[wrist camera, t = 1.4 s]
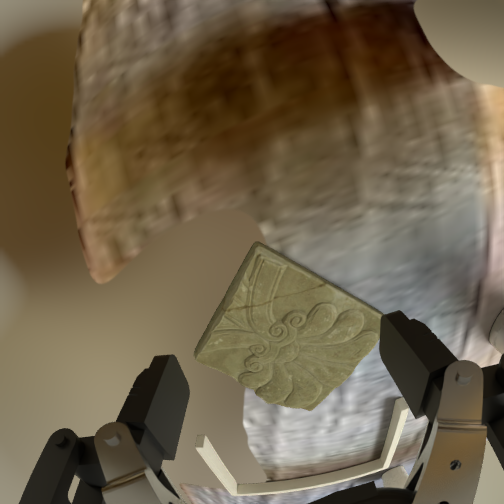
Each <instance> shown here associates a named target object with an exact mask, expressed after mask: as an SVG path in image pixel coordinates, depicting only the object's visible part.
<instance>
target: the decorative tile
mask: <svg viewBox="0 0 504 504" xmlns="http://www.w3.org/2000/svg"><path fill="white" fill-rule="evenodd" d="M382 315H385V314H383V313H382V312H380V311H378V310H377V309H375V308H373V307H372V306H370V305H368V304H367V303H365V302H363V301H362V300H360V299H358V298H356V297H355V296H353V295H351V294H349V293H348V292H346V291H344V290H342V289H341V288H339V287H337V286H336V285H334V284H332V283H330V282H329V281H327V280H325V279H323V278H322V277H320V276H318V275H316V274H315V273H313V272H311V271H309V270H308V269H306V268H304V267H303V266H301V265H299V264H297V263H296V262H294V261H292V260H290V259H289V258H287V257H285V256H283V255H282V254H280V253H278V252H276V251H275V250H273V249H271V248H269V247H267V246H266V245H264V244H262V243H260V242H255V243H254V244H253V245H252V247H251V248H250V250H249V252H248V254H247V255H246V257H245V259H244V261H243V263H242V265H241V266H240V268H239V270H238V272H237V274H236V276H235V277H234V279H233V281H232V283H231V285H230V286H229V288H228V290H227V292H226V294H225V296H224V298H223V300H222V302H221V303H220V305H219V306H218V308H217V309H216V311H215V313H214V315H213V317H212V318H211V321H210V323H209V324H208V326H207V328H206V330H205V332H204V333H203V335H202V337H201V339H200V340H199V342H198V344H197V346H196V348H195V352H194V357H195V360H196V361H197V362H199V363H202V364H204V365H206V366H209V367H211V368H214V369H216V370H219V371H221V372H223V373H225V374H227V375H229V376H231V377H233V378H234V379H235V380H236V381H237V382H239V383H240V384H241V385H242V386H244V387H247V388H250V389H253V390H254V392H255V394H256V395H257V396H259V397H260V398H262V399H263V400H264V401H265V402H266V403H268V404H272V403H275V404H278V405H281V406H285V407H290V408H302V409H305V410H308V411H312V410H313V409H314V408H315V407H316V406H317V405H318V404H319V403H321V402H322V401H323V400H324V399H325V398H326V397H327V396H328V395H329V394H330V393H331V392H332V391H333V390H334V389H335V388H337V387H338V386H340V385H341V384H342V383H343V382H344V381H345V380H346V379H347V378H348V377H349V376H350V375H351V374H352V373H353V371H354V369H355V367H356V366H357V365H358V363H359V362H360V361H361V360H362V359H363V358H364V357H365V356H366V355H368V353H369V352H370V351H371V350H372V349H373V348H374V346H375V345H376V343H377V342H378V340H379V338H380V320H381V316H382Z"/></svg>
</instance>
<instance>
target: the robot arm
mask: <svg viewBox="0 0 504 504" xmlns="http://www.w3.org/2000/svg"><path fill="white" fill-rule="evenodd" d="M489 341H490V343H491V345H492V346H493V347H494V348H496V349H497V350H498V351H499V352H500V353H501V354H502V356H501V359H500V362H499V364H496V365H492V366H488V367H483V368H480V367H479V366H478V365H477V364H476V363H474V362H472V361H468V360H460V361H459V360H458V359H457V358H456V357H455V356H454V355H453V354H452V353H451V352H450V350H449V349H448V348H447V347H446V346H445V345H444V344H443V343H442V342H441V341H440V340H439V339H437V336H436V335H435V334H434V333H432V331H431V330H430V329H429V328H428V327H427V326H426V325H425V324H424V323H422V322H420V321H418V320H416V319H411V320H409V319H408V318H407V317H406V315H405V314H404V313H403V312H402V311H400V310H398V311H395V312H392V313H389V314H385V315H382V316H381V320H380V344H379V350H380V356H381V359H382V361H383V363H384V365H385V366H386V368H387V370H388V371H389V373H390V375H391V376H392V378H393V380H394V382H395V383H396V385H397V387H398V388H399V390H400V392H401V394H402V395H403V397H404V399H405V401H406V403H407V404H408V406H409V408H410V410H411V412H412V413H413V415H414V417H415V419H417V418H420V417H422V416H424V415H426V416H427V418H428V422H427V425H426V429H425V433H424V436H423V439H422V443H421V446H420V449H419V452H418V455H417V458H416V461H415V464H414V466H413V468H412V471H411V473H410V475H409V477H408V479H407V481H406V483H405V486H404V488H403V489H402V488H393V487H382V488H376V486H375V483H374V481H372V482H369V483H366V484H362V485H359V486H356V487H352V488H349V489H345V490H341V491H337V492H334V493H332V494H330V495H328V496H325V497H323V498H321V499H318V500H316V501H313V502H311V503H308V504H473V501H474V498H475V494H476V490H477V486H478V482H479V478H480V473H481V468H482V463H483V458H484V451H485V445H486V437H487V439H488V441H489V442H490V444H491V446H492V447H493V450H494V452H495V454H496V456H497V457H498V460H499V461H500V463H501V466H502V468H503V470H504V309H503V310H502V312H501V313H500V314H499V316H498V317H497V319H496V321H495V323H494V325H493V327H492V329H491V332H490V338H489ZM189 395H190V390H189V385H188V382H187V380H186V378H185V376H184V373H183V371H182V369H181V367H180V365H179V363H178V360H177V358H176V357H175V355H161V356H155V357H154V358H153V360H152V362H151V364H150V367H149V368H148V369H145V370H144V371H143V372H141V374H139V375H138V377H137V378H136V380H135V382H134V384H133V388H131V390H130V392H129V395H128V396H127V399H126V401H125V403H124V405H123V407H122V409H121V411H120V413H119V416H118V418H117V420H116V422H111V423H108V424H105V425H104V426H102V427H101V428H100V429H99V430H98V431H97V432H96V434H95V436H90V437H82V438H79V437H78V436H77V435H76V434H75V433H74V432H73V431H72V430H70V429H68V428H67V429H66V428H63V429H59V430H58V431H56V432H54V433H53V434H52V435H51V436H50V438H49V440H48V442H47V444H46V446H45V448H44V449H43V452H42V454H41V455H40V458H39V460H38V462H37V464H36V466H35V468H34V470H33V473H32V474H31V477H30V479H29V481H28V483H27V485H26V488H25V490H24V492H23V495H22V497H21V500H20V502H19V504H71V503H70V501H69V500H68V491H69V488H70V485H71V483H72V480H73V477H74V475H76V476H77V477H78V478H80V482H79V485H78V487H77V490H76V493H75V496H74V499H73V502H72V504H187V503H186V502H185V501H184V499H183V498H182V496H181V495H180V493H179V492H178V490H177V489H176V487H175V486H174V485H173V483H172V481H171V480H170V478H169V477H168V475H167V474H166V472H165V470H164V469H163V467H162V466H161V465H162V461H163V460H174V459H175V454H176V450H177V446H178V442H179V437H180V433H181V429H182V424H183V420H184V416H185V412H186V408H187V404H188V400H189Z"/></svg>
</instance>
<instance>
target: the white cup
mask: <svg viewBox="0 0 504 504" xmlns="http://www.w3.org/2000/svg"><path fill="white" fill-rule="evenodd" d="M408 477H409V476H408V474H407V473H406V471H405V468H404V467H403V466H398V467H395V468H392V469H390V470H388V471H387V472H385V473H384V474H383V475H382V480H383V485H384V487H393V488H402V489H403V488H404V486H405V483H406V481H407V479H408Z"/></svg>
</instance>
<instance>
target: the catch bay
mask: <svg viewBox="0 0 504 504" xmlns="http://www.w3.org/2000/svg"><path fill="white" fill-rule="evenodd" d="M408 410H409V407H408V405H407V403H406V401H405V399H404V398H403V397H401V398H399V399H396V401H395V405H394V410H393V414H392V418H391V422H390V426H389V430H388V433H387V437H386V440H385V444H384V447H383V450H382V454H381V457H380V459H377V460H374V461H371V462H368V463H364V464H361V465H358V466H354V467H350V468H347V469H343V470H339V471H334V472H330V473H325V474H321V475H316V476H310V477H305V478H299V479H292V480H285V481H276V482H266V483H256V484H254V483H253V484H237V483H236V481H235V480H234V478H233V477H232V476H231V474H230V473H229V471H228V470H227V468H226V467H225V465H224V464H223V462H222V461H221V459H220V458H219V456H218V455H217V453H216V451H215V450H214V448H213V447H212V445H211V443H210V442H209V440H208V438H207V437H206V435H198V436H197V440H196V445H195V448H196V450H197V451H198V452H199V454H200V455H201V457H202V458H203V459H204V461H205V462H206V463H207V465H208V466H209V467H210V469H211V470H212V471H213V473H214V474H215V475H216V476H217V478H218V479H219V480H220V482H221V483H222V484H223V485H224V486H225V488H226V489H227V490H228V491H229V492H230V494H231V495H232V496H249V495H265V494H276V493H284V492H292V491H299V490H305V489H311V488H316V487H322V486H326V485H331V484H335V483H340V482H344V481H347V480H351V479H355V478H358V477H362V476H365V475H368V474H372V473H375V472H378V471H381V470H384V469H386V468H388V467H389V464H390V462H391V460H392V457H393V455H394V452H395V449H396V447H397V444H398V441H399V438H400V436H401V433H402V430H403V427H404V423H405V420H406V417H407V414H408Z"/></svg>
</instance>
